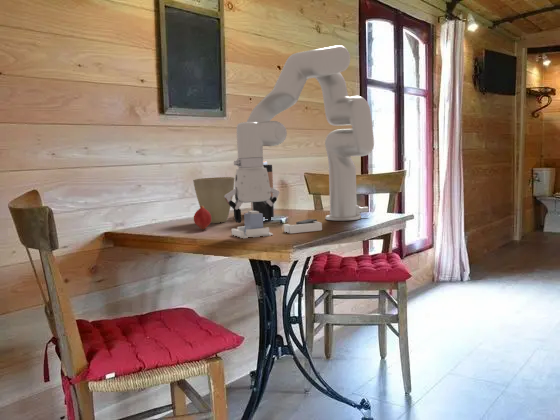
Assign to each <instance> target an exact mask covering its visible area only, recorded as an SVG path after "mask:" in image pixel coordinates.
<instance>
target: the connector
mask: <svg viewBox="0 0 560 420" xmlns="http://www.w3.org/2000/svg"><path fill="white" fill-rule="evenodd" d="M243 219H244V226H245V233H246V229H257V228H264V221H263V214H262V213H259V211H251V210H247V212H245V213H244V215H243Z"/></svg>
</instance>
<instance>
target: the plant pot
mask: <svg viewBox="0 0 560 420" xmlns="http://www.w3.org/2000/svg"><path fill="white" fill-rule="evenodd" d="M192 180H193V186H194V190H195V195H196V199H197V202H198V205H199V208H200V207H201V206H204V208H205V209H206V210H208V211H209V213H210V214H211V218H212V219H211V223H210V224H220V222H221V223H226V222H227V221H228V218H229V214H230V210H231V208H232V207H231V206H230V205H229V204H228V202H227V201H226V199H225V197H224V196H225V195H226V194H227V193H229V192H230V191H232V190H233V189H235V176H218V177H201V178H193V179H192ZM233 196H234V195H233ZM233 196H232V197H231V199H232V200H233Z"/></svg>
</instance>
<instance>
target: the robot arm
mask: <svg viewBox="0 0 560 420" xmlns="http://www.w3.org/2000/svg"><path fill="white" fill-rule="evenodd" d="M350 63H351V54H350V52H349V51H348V48H346V47H345V46H344V45H340V44H339V45H332V46H327V47H321V48H316V49H310V50H306V51H305V50H304V51H299V52H295V53H292V54H291V55H290V56H288V58H287V59H286V61H285V63H284V65H283V67H282V69H281V72H280V74H279V75H278V78H277V80H276V82H275V84H274V87H273V89H272V90H271V91H270V92H268V93H267V94H266V96H265V97H263V98H262V99H261V100H260V101H259V102H258V103H257V105H255V106H254V108H253V109H252V110H251V113H250V114H249V116H248V118H247V121H246V122H245V121H244V122H240V123H237V125H236V147H237V150H236V151H237V160H234V161H233V166H237V169H236V171H235V176H234V177H235V179H234V189H233V190H232V191H230V192H229V193H227V194H226V195H225V196H224V197H225V199H226V201H227V202H228V204H229V205H230V206H231V207H230V208H232V209H233V220H235V223H237V224H240V223H242V210H241V208H240V207H241V206H242V205H243V203H244V204H246V203H249V204H250V203H251V202H261V201H263V202H264V203H265V204H266V206H265V219H268V220H271V217H272V206H273V204H274V205H275V203H276V201H278V200H277V199H278V197H279V194H280V191H279V190H278V189H275V188H274V187H273V188H271V187H270V184H269V177H268V173H267V169H266V168H264V166H263V161H264V149H263V147H276V146H279V145H281V144H283V143H284V141H285V140H286V139H287V136H288V132H287V128H286V126H285V125H284V124H283V123H282V122H280V121H276V120H272V119H273V118H274V117H276V116H278V115H279V114H280V113H283V112H284V111H286V110H288V109H289V108H292V106H294V105H296V103H297V102H298V100H299V98H300V96H301V93H302V91H303V89H304V87H305V84H306V83H307V81H308V80H309V79H316V81H317V82H318V84H319V86H320V88H321V92H322V93H321V94H322V99H323V106H324V114H325V118H326V121H327V123H328V124H329V125H331V126H335V127H336V126H339V127H340V126H351V128H341V129H340V128H339V129H335V130H332V131H330V132H329V133H328V134H327V135H326V137H325V139H324V140H325V141H324V145H325V151H326V156H327V161H328V183H329V184H328V185H329V187H328V188H329V214H327V215H325V220H327V221H332V222H333V221H334V222H337V221H339V222H346V221H348V222H349V221H356V220H361V219H362V215H361V213H368V212H369V210H370V209H369V207H368V206H362V207H361V206H360V205H358V204H357V203H358V200H357V199H358V198H357V169H356V165H355V163H354V161H353V159H352V157H364V156H368V155H370V154H371V153H372V151H373V149H374V144H375V139H374V131H373V129H374V128H373V120H372V112H371V108H370V104H369V102H368V101H367V100H366V99H365V98H364V97H363V96H360V95H351V96H349V93H348V88H347V82H346V80H345V78H344V76H343V74H342V72H345V71H346V70H347V69H348V68H349V66H350ZM270 192H271V193H273V196H272V198H271V199H270V197H271V193H270ZM232 196H234V199H235V202H234V200H233V197H232ZM231 197H232V199H231Z"/></svg>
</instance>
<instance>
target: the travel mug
mask: <svg viewBox="0 0 560 420" xmlns="http://www.w3.org/2000/svg"><path fill="white" fill-rule="evenodd" d="M263 166H264V168H266V169H267V173H268V177H269V184H270V187H271V188H273V189H274V180H273V174H274V173H273V164H267V165H263ZM270 193H271V192H270ZM272 196H273V193H271V197H270V199H271V198H272ZM274 205H275V203H274V204H273V206H272V217H275V215H274V213H275V211H274V210H275V209H274V207H275V206H274ZM265 206H266V204H265V203H264V202H263V201H261V202H253V211H259V213H262V214H263V217H265Z"/></svg>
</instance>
